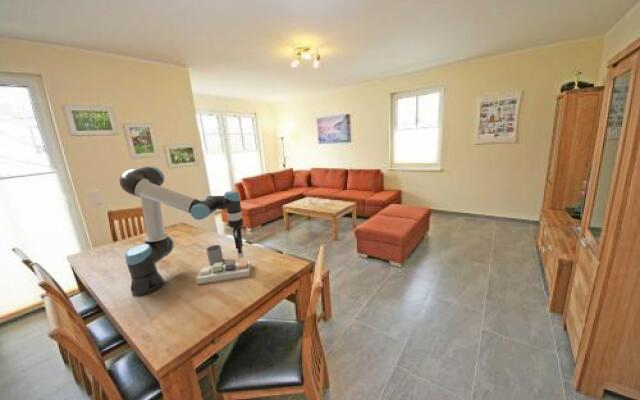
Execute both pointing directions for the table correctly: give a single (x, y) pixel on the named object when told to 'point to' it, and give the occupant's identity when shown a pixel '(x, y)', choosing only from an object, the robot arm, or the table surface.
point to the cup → (214, 254)
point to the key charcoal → (230, 265)
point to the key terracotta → (243, 265)
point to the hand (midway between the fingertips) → (241, 257)
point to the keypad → (224, 274)
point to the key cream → (205, 271)
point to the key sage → (217, 267)
